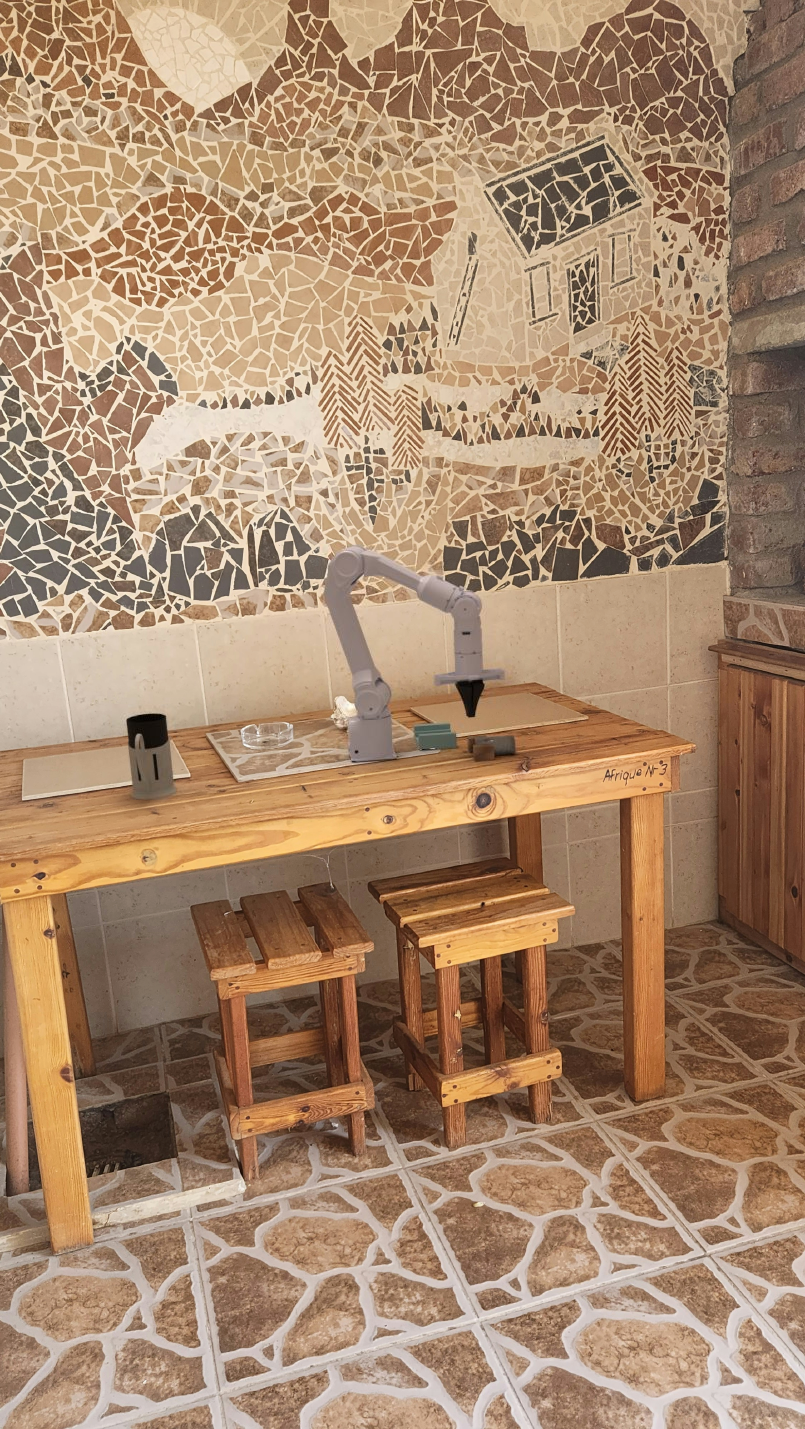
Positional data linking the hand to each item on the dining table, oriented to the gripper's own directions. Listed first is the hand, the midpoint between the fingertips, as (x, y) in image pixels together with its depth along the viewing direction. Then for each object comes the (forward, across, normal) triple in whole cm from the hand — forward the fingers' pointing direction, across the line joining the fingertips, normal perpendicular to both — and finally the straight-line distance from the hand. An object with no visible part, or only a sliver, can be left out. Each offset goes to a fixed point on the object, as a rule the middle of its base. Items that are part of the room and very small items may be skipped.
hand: (470, 716), depth 224 cm
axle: (+9, +5, 0) cm, 10 cm away
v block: (+8, -5, +13) cm, 16 cm away
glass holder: (+8, -65, -5) cm, 66 cm away
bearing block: (+8, +2, 0) cm, 9 cm away
